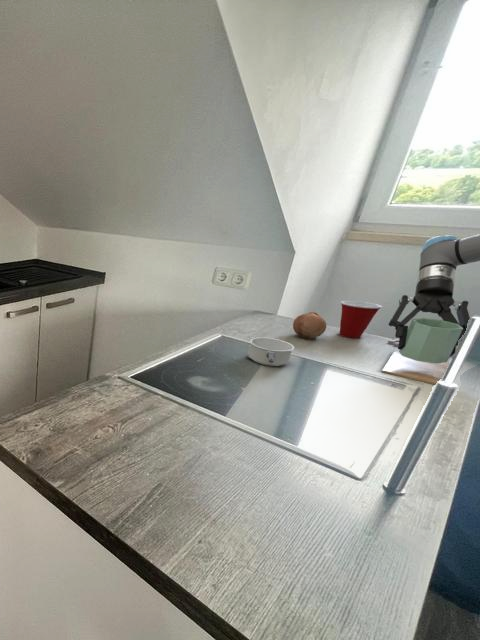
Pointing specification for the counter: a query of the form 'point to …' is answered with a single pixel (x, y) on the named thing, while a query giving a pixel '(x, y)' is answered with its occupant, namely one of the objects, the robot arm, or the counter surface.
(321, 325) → the onion
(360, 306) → the plastic cup
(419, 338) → the tumbler
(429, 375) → the wooden cutting board
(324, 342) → the counter surface
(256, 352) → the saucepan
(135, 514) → the counter surface
